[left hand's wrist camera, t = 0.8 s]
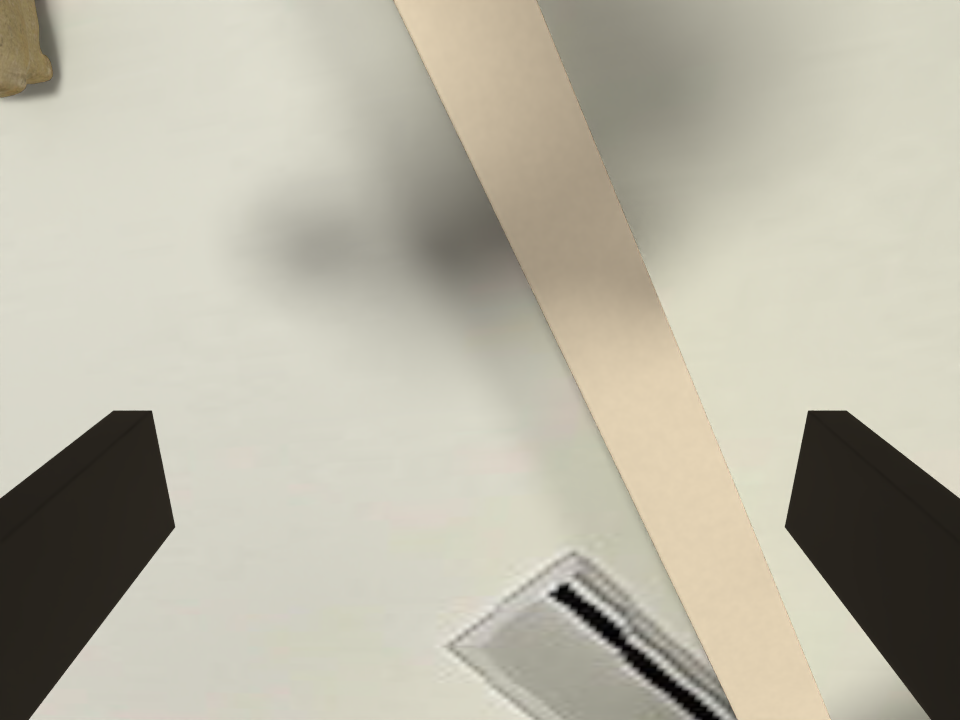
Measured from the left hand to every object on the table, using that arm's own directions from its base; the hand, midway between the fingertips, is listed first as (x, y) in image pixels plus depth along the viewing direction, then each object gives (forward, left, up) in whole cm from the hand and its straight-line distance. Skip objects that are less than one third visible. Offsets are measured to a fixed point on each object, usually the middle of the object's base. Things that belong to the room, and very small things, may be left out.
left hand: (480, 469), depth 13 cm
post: (0, +14, -23) cm, 27 cm away
